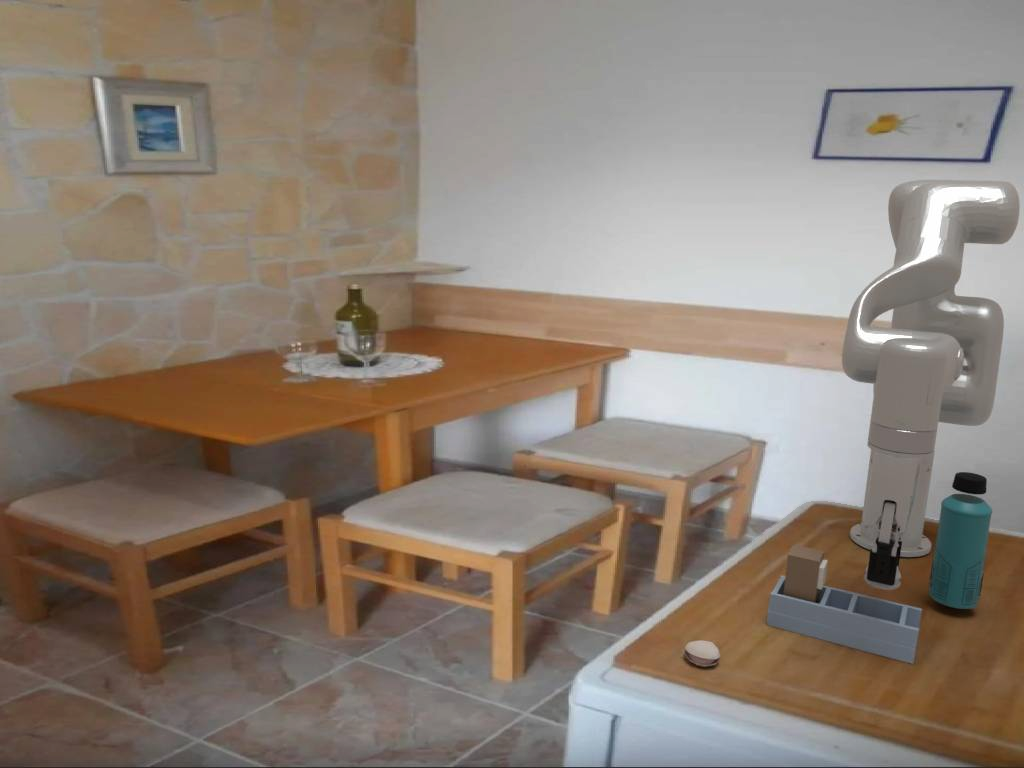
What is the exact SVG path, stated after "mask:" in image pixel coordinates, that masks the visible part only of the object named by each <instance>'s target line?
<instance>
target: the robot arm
mask: <svg viewBox="0 0 1024 768" xmlns="http://www.w3.org/2000/svg"><path fill="white" fill-rule="evenodd" d="M1020 206H1021V204H1020V198H1019V193H1018V191H1017V189H1016V187H1015V185H1013V184H1012V183H1011V182H1010V181H1003V180H957V179H956V180H953V179H921V180H920V179H919V180H911V181H907V182H903V183H900V184H898V185H897V186H895V187H894V188H893V189H892V191H891V192H890V194H889V198H888V206H887V207H888V208H887V211H888V212H887V213H888V222H889V229H890V233H891V236H892V240H893V244H894V246H895V254H894V260H893V266H892V267H890V268H889V269H888V270H886V271H884V272H883V273H881V274H880V275H878V276H877V277H876V278H875V279H874V280H872V281H871V282H870V283H869V284H868V285H867V286H866V287H865V288H864V289H863V290H862V291H861V292H860V294H859V295H858V296H857V297H856V299H855V301H854V303H853V305H852V307H851V309H850V313H849V316H848V320H847V321H848V322H847V325H846V330H845V335H844V340H843V345H842V351H841V352H842V353H841V365H842V370H843V372H844V374H845V375H846V376H847V377H848V378H850V379H851V380H852V381H855V382H857V383H864V384H870V385H871V384H873V388H872V389H873V400H872V406H871V415H870V422H869V430H868V438H867V445H866V446H867V447H868V448H869V450H870V455H869V463H868V469H867V470H868V471H867V479H866V483H865V484H866V485H865V493H864V500H863V508H862V516H861V522H860V523H858V524H857V523H856V524H855V525H853V526H852V527H851V528H850V531H849V536H850V539H851V540H852V541H853V542H854V543H855V544H857V545H858V546H860V547H861V548H862V547H863V548H864V549H866V550H869V558H868V559H869V560H868V564H867V566H868V572H867V579H868V580H869V581H872V582H877V583H881V584H885V585H890V586H893V585H894V583H895V577H896V570H897V566H898V568H899V567H900V566H899V565H900V558H915V557H922V556H925V555H927V554H929V553H930V552H931V550H932V542H931V540H930V539H929V538H928V537H927V536H925V535H924V525H925V520H926V513H927V507H928V499H929V493H930V486H931V479H932V473H933V472H932V471H933V466H934V459H935V449H936V448H935V446H936V439H937V433H938V426H939V423H943V424H949V425H950V424H952V425H958V426H959V425H960V426H969V427H977V426H981V425H983V424H985V423H986V422H987V421H989V419H990V417H991V415H992V412H993V408H994V404H995V397H996V389H997V384H998V378H999V377H998V374H999V369H1000V368H999V367H1000V361H1001V353H1002V347H1003V340H1004V339H1003V338H1004V328H1005V323H1004V322H1005V321H1004V319H1005V318H1004V311H1003V309H1002V307H1001V306H1000V304H999V303H998V302H996V301H995V300H993V299H990V298H986V297H985V298H984V297H978V296H963V295H956V292H955V288H956V285H957V284H958V282H959V281H960V279H961V275H962V267H963V258H964V250H965V244H979V245H980V244H982V245H1004V244H1005V243H1008V242H1009V241H1010V240H1011V238H1013V235H1014V234H1015V231H1016V229H1017V228H1018V227H1017V226H1018V224H1019V219H1020ZM891 310H892V315H891V316H892V317H891V327H882V326H871V324H872V322H873V321H874V320H875V319H877V318H878V317H879V316H881V315H883V314H884V313H886V312H888V311H891ZM965 361H966V365H965V364H964V362H965ZM880 524H881V528H880V527H879V526H880ZM892 526H895V527H897V529H896V531H895V530H892ZM902 534H903V535H902ZM899 535H902V536H901V537H900V538H899ZM891 536H894V540H892V539H891ZM898 544H899V547H898Z"/></svg>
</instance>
